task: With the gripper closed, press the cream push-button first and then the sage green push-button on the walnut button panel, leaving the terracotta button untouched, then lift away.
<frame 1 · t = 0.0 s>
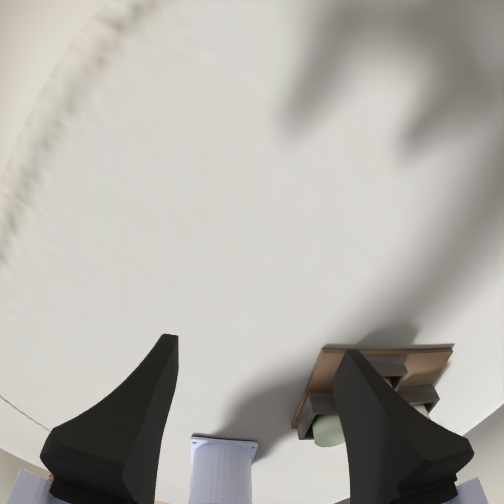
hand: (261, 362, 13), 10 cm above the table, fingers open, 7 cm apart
terracotta button: (373, 394, 24), point 3 cm above the table, slide at 0.0 cm
cream button: (411, 417, 27), point 3 cm above the table, slide at 0.0 cm
sage button: (331, 427, 26), point 3 cm above the table, slide at 0.0 cm
button panel: (372, 390, 29), on the table
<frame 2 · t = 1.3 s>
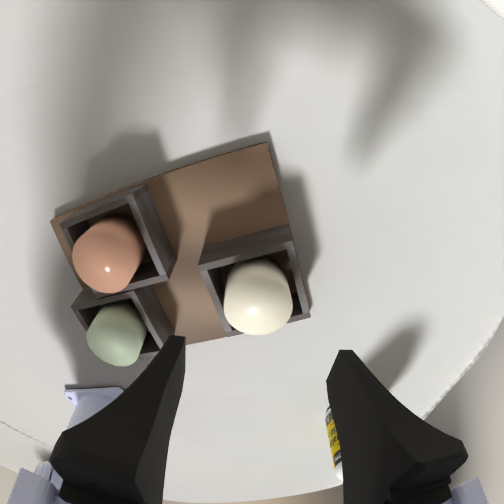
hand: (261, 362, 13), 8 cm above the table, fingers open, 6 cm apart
terracotta button: (109, 252, 16), point 3 cm above the table, slide at 0.0 cm
cream button: (257, 295, 17), point 3 cm above the table, slide at 0.0 cm
sage button: (117, 333, 19), point 3 cm above the table, slide at 0.0 cm
button panel: (178, 266, 20), on the table
supplement bottle: (349, 408, 28), on the table
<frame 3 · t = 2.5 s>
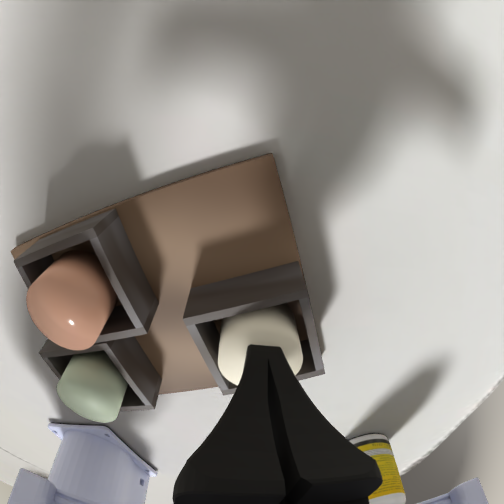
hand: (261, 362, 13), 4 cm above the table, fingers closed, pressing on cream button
terracotta button: (72, 299, 12), point 3 cm above the table, slide at 0.0 cm
cream button: (259, 343, 14), point 2 cm above the table, slide at 0.7 cm, touching gripper
sage button: (93, 385, 14), point 3 cm above the table, slide at 0.0 cm
button panel: (162, 308, 16), on the table
supplement bottle: (359, 445, 24), on the table
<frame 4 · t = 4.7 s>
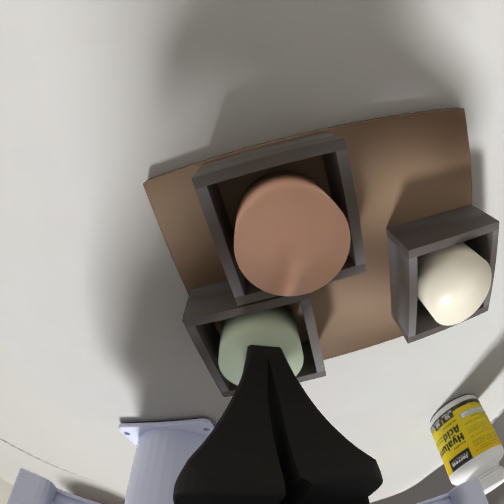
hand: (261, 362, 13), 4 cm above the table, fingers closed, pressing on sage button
terracotta button: (288, 230, 11), point 3 cm above the table, slide at 0.0 cm
cream button: (449, 278, 13), point 2 cm above the table, slide at 0.8 cm
sage button: (260, 343, 14), point 2 cm above the table, slide at 0.8 cm, touching gripper
button panel: (341, 255, 15), on the table
supplement bottle: (451, 409, 22), on the table
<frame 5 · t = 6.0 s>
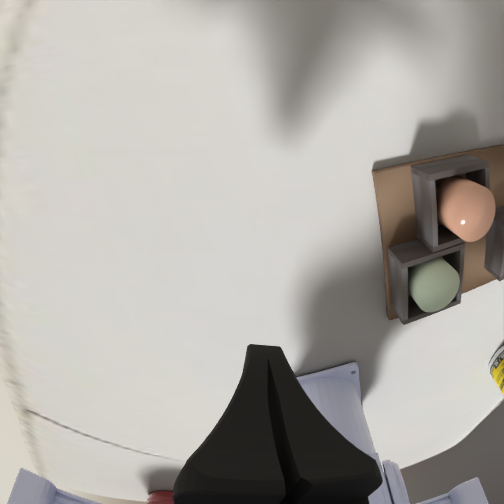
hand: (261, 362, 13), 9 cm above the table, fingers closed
terracotta button: (464, 207, 16), point 3 cm above the table, slide at 0.0 cm
sage button: (430, 281, 20), point 2 cm above the table, slide at 0.8 cm
canister: (183, 500, 43), on the table
button panel: (463, 227, 20), on the table
supplement bottle: (501, 354, 28), on the table
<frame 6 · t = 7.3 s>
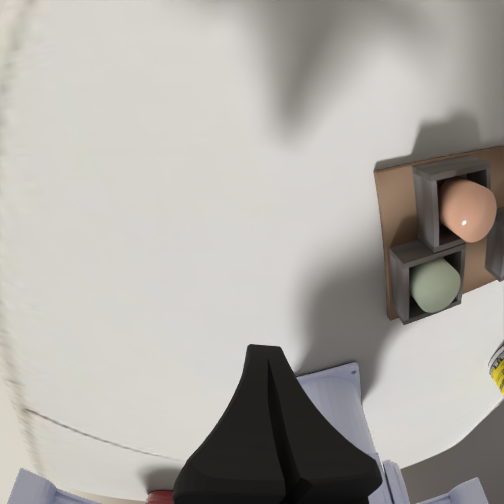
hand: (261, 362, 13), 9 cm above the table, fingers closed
terracotta button: (466, 208, 16), point 3 cm above the table, slide at 0.0 cm
sage button: (431, 281, 20), point 2 cm above the table, slide at 0.8 cm
canister: (182, 499, 43), on the table
button panel: (464, 228, 20), on the table
supplement bottle: (501, 355, 28), on the table
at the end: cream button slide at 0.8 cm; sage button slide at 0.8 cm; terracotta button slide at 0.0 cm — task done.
